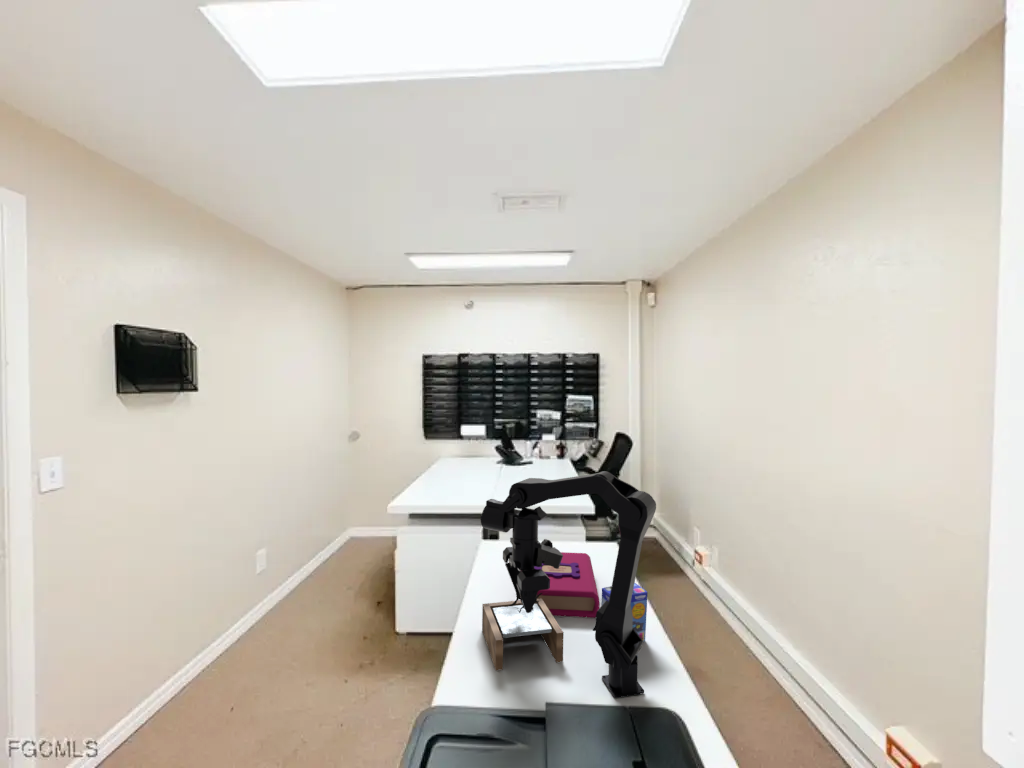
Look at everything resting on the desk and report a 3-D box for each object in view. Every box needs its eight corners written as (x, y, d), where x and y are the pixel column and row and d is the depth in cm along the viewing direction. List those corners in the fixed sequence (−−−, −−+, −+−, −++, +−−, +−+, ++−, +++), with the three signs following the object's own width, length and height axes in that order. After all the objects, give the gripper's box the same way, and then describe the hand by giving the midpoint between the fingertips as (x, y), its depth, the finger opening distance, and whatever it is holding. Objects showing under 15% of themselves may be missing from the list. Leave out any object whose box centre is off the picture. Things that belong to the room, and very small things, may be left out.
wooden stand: (562, 661, 107) (563, 632, 107) (495, 670, 104) (496, 640, 104) (541, 623, 123) (541, 598, 123) (482, 630, 120) (482, 603, 120)
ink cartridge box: (611, 649, 112) (612, 587, 112) (598, 637, 118) (600, 577, 117) (647, 641, 116) (648, 581, 116) (633, 630, 121) (635, 572, 121)
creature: (503, 609, 113) (513, 617, 105) (501, 584, 114) (512, 591, 106) (535, 604, 115) (547, 612, 108) (533, 580, 116) (545, 586, 109)
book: (590, 575, 154) (590, 551, 154) (599, 620, 127) (599, 590, 126) (523, 572, 156) (524, 548, 156) (517, 616, 128) (518, 587, 128)
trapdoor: (551, 632, 109) (551, 628, 109) (503, 637, 106) (503, 634, 106) (536, 606, 120) (536, 603, 120) (492, 611, 118) (492, 608, 118)
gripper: (573, 548, 103) (572, 621, 103) (546, 521, 121) (545, 583, 122) (522, 552, 100) (521, 627, 101) (502, 524, 119) (501, 588, 119)
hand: (524, 604), depth 111 cm, fingers closed on creature, 7 cm apart
